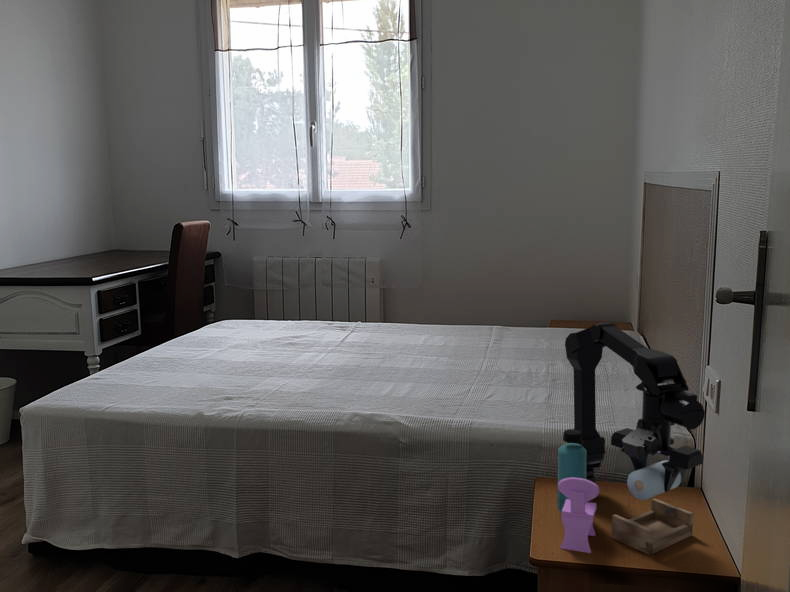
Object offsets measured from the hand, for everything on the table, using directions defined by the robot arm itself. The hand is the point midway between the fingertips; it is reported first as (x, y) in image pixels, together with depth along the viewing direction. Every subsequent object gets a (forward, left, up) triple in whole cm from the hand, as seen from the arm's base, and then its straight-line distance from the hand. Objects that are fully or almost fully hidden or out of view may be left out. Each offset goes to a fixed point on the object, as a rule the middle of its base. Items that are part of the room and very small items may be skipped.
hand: (653, 486), depth 159 cm
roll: (0, 0, -2) cm, 2 cm away
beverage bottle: (-17, -6, -11) cm, 21 cm away
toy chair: (-8, -14, -11) cm, 20 cm away
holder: (0, 0, -11) cm, 11 cm away
